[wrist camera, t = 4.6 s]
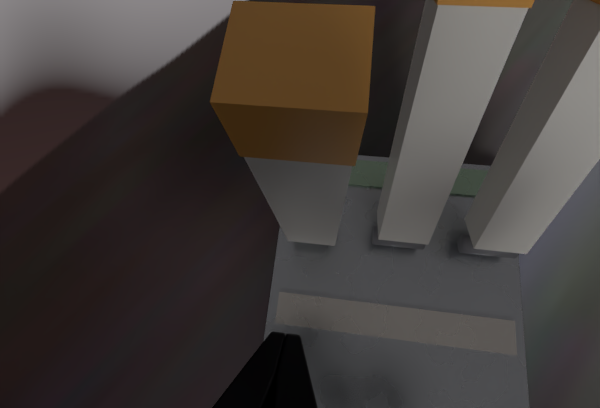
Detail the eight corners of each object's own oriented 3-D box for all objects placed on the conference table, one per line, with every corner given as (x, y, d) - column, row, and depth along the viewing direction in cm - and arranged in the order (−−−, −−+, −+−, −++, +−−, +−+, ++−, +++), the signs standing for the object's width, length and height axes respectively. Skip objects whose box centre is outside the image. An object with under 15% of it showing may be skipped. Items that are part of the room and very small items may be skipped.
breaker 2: (516, 271, 16) (797, -90, 7) (462, 265, 17) (666, -91, 7) (503, 239, 18) (720, -92, 9) (454, 234, 18) (614, -93, 9)
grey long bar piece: (423, 262, 17) (575, -91, 8) (372, 256, 17) (459, -91, 8) (418, 231, 18) (539, -92, 9) (371, 226, 18) (443, -93, 9)
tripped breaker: (335, 251, 18) (370, 113, 5) (288, 246, 18) (206, 102, 5) (339, 214, 18) (377, 5, 6) (293, 209, 19) (230, 1, 6)
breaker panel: (513, 436, 16) (534, 450, 15) (260, 396, 18) (253, 405, 16) (498, 177, 20) (514, 166, 19) (292, 159, 22) (290, 148, 20)
